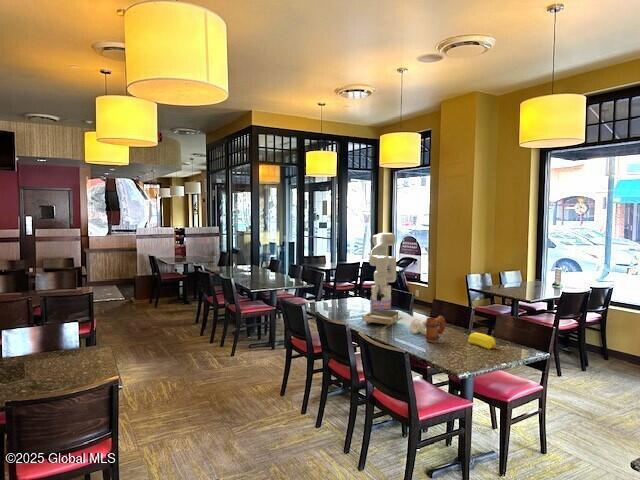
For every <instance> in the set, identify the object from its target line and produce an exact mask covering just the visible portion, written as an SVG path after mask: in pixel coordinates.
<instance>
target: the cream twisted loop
mask: <svg viewBox="0 0 640 480" xmlns="http://www.w3.org/2000/svg"><path fill="white" fill-rule="evenodd" d="M426 321H427V319H424V320H421V319H420V318H413V319H412V320H411V321H410V323H409V325H408V326H409V331H410V333H411V334H414V335H417V334H419V333H421V335H426V325H425V323H426Z"/></svg>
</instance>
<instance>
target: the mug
mask: <svg viewBox="0 0 640 480" xmlns="http://www.w3.org/2000/svg"><path fill="white" fill-rule="evenodd" d="M426 320H427V321H426V323H425V325H426V329H425V330H426V334H425V335H424V338H425V341H426V342H428V343H430V342H431V343H430V344H436V343H437V342H439V339H440V338H441V337H440V335H442V334H443V333H444V331H445V329H446V319H445V317H444V316H442V315H438V316H437V317H427V318H426Z"/></svg>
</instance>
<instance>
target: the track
mask: <svg viewBox="0 0 640 480" xmlns="http://www.w3.org/2000/svg"><path fill="white" fill-rule="evenodd" d="M401 319H403V316H398V320H396V321H394V322H393V323H391V324H390V325H389V324H388V325H384V326H383V327H382V328H383V329H384V330H385V329H387V328H388V327H390V326H392V325H393V324H395V323H396V322H398V321H399V320H401ZM372 323H373V322H369V323H364V324H363V326H364V327H367V326H369V325H370V324H372Z"/></svg>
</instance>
